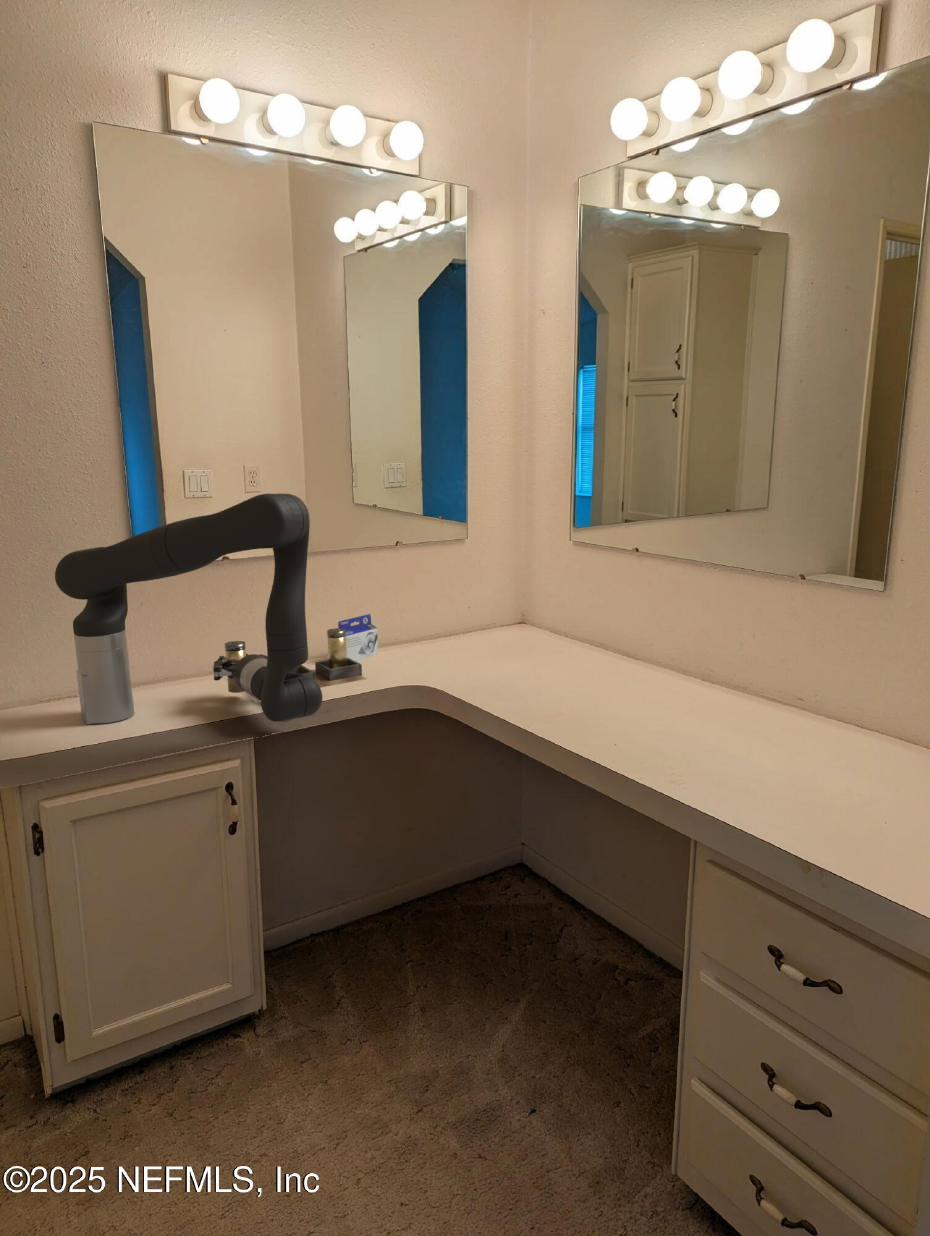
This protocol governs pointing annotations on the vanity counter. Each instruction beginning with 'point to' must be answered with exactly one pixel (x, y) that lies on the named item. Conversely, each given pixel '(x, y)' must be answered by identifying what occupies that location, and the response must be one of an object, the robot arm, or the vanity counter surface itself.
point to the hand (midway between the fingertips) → (231, 659)
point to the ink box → (360, 637)
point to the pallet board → (332, 673)
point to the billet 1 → (236, 652)
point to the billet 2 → (337, 647)
